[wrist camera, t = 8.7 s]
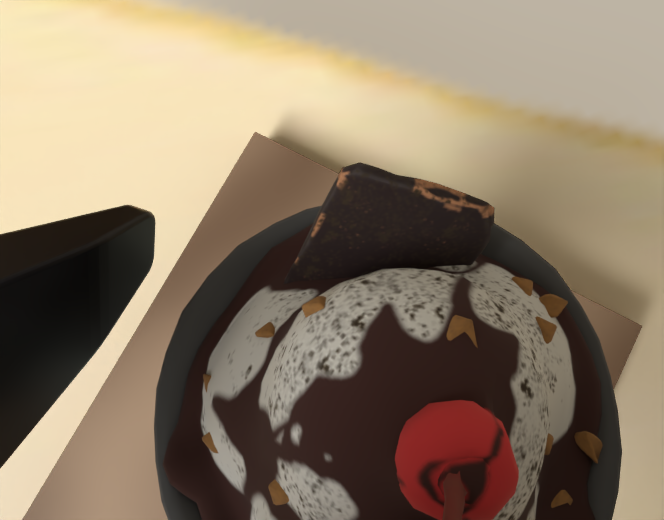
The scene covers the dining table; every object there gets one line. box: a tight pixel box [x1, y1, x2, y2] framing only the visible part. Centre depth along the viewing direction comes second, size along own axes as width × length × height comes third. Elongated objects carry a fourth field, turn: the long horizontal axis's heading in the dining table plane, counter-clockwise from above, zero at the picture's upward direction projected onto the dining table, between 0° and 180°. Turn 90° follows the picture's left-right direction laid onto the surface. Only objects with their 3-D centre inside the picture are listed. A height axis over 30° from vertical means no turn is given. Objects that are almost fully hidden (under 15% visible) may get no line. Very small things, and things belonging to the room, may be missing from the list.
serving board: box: [22, 132, 642, 520], centre depth 19 cm, size 14×16×1 cm
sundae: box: [154, 163, 622, 520], centre depth 11 cm, size 7×7×15 cm
